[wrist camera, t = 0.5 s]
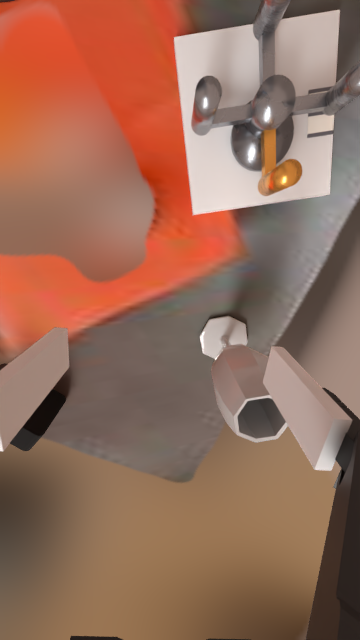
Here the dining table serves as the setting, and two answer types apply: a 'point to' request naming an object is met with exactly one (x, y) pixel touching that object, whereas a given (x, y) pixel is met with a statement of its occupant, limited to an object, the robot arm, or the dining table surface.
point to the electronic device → (39, 421)
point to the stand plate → (240, 88)
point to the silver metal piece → (268, 109)
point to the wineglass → (240, 381)
